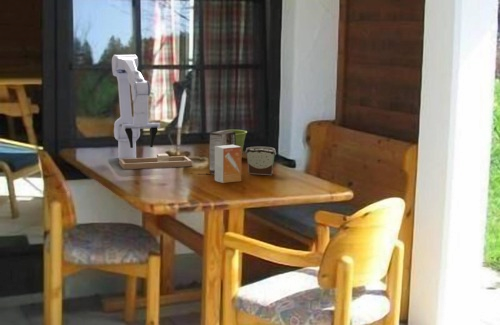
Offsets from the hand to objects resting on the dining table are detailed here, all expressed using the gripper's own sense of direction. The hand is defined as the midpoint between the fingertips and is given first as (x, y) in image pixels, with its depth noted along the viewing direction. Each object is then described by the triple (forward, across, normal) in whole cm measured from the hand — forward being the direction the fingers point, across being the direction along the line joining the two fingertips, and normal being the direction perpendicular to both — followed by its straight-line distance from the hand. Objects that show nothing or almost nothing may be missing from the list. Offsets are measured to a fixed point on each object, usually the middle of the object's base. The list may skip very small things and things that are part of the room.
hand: (141, 147), depth 350 cm
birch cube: (+8, +9, +4) cm, 13 cm away
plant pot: (+10, +42, +22) cm, 49 cm away
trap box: (+10, +6, +4) cm, 12 cm away
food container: (+10, +45, -15) cm, 48 cm away
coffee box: (+10, +30, -11) cm, 33 cm away
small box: (+10, +28, -27) cm, 40 cm away
